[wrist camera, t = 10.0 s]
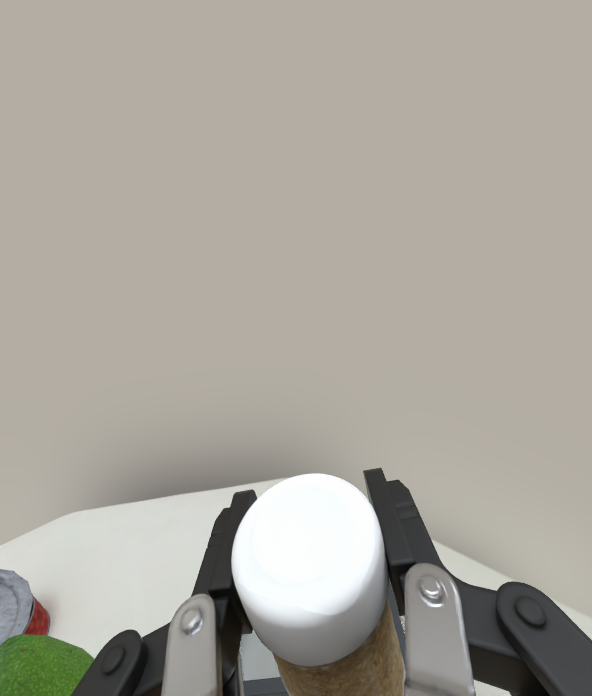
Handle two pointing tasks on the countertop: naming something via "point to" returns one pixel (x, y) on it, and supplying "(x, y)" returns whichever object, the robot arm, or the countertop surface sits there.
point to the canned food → (19, 608)
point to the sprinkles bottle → (319, 588)
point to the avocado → (41, 666)
